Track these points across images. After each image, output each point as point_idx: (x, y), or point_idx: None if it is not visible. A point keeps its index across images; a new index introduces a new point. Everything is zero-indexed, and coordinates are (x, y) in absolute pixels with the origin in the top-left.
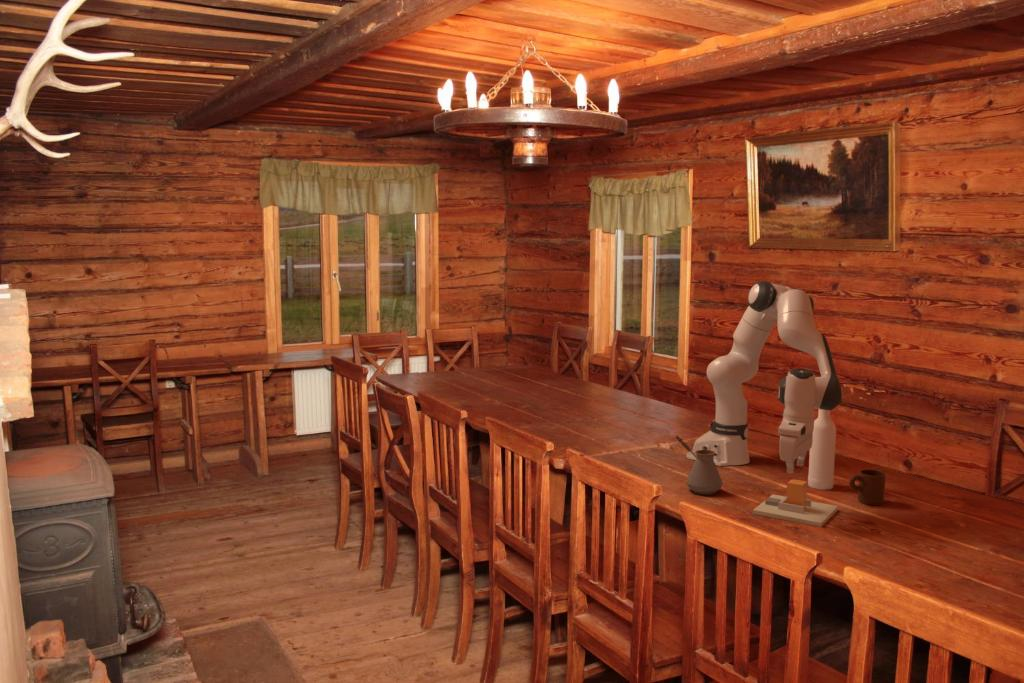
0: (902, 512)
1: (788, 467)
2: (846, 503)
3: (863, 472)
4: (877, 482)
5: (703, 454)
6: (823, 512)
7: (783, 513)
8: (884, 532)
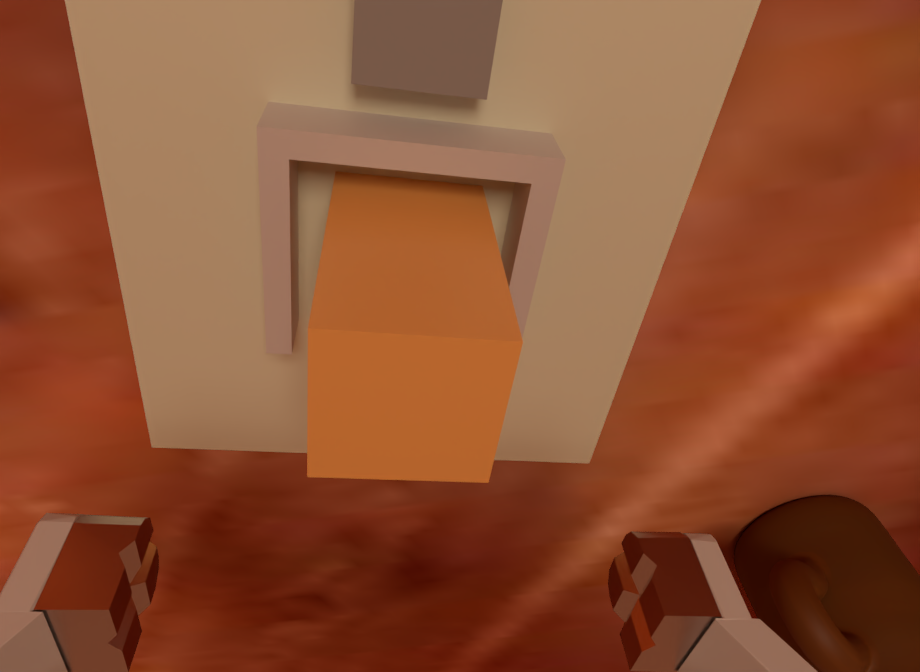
0: None
1: (5, 624)
2: (740, 457)
3: None
4: None
5: None
6: None
7: (167, 177)
8: (303, 632)
